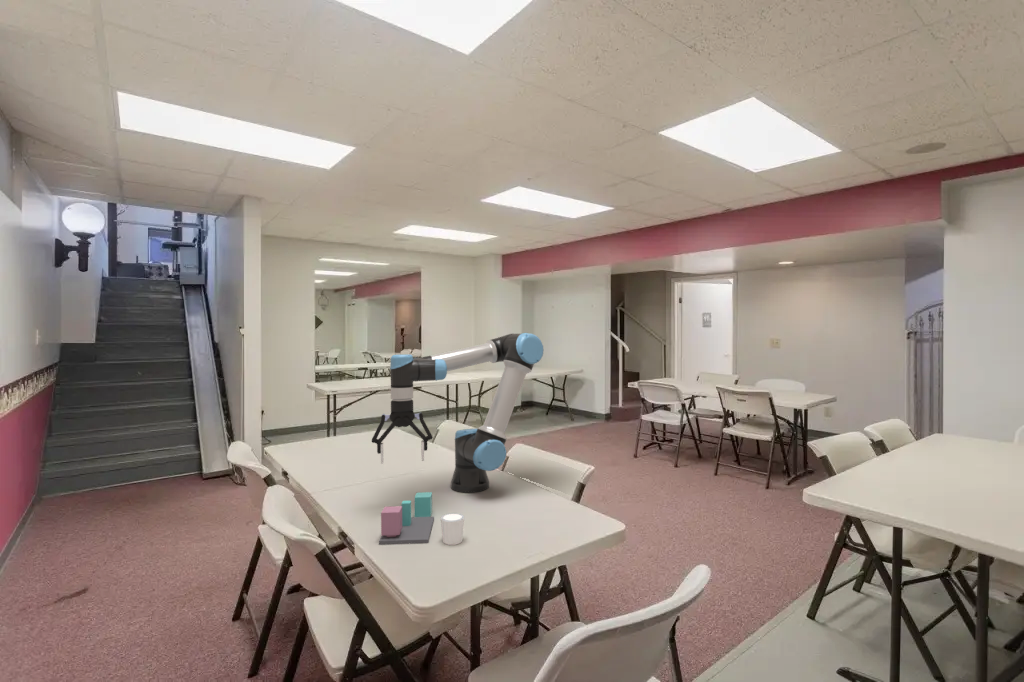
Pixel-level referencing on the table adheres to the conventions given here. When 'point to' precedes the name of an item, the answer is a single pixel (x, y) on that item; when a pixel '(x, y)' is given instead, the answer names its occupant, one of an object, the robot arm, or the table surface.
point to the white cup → (452, 528)
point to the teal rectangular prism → (423, 504)
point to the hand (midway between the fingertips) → (402, 461)
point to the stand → (404, 526)
